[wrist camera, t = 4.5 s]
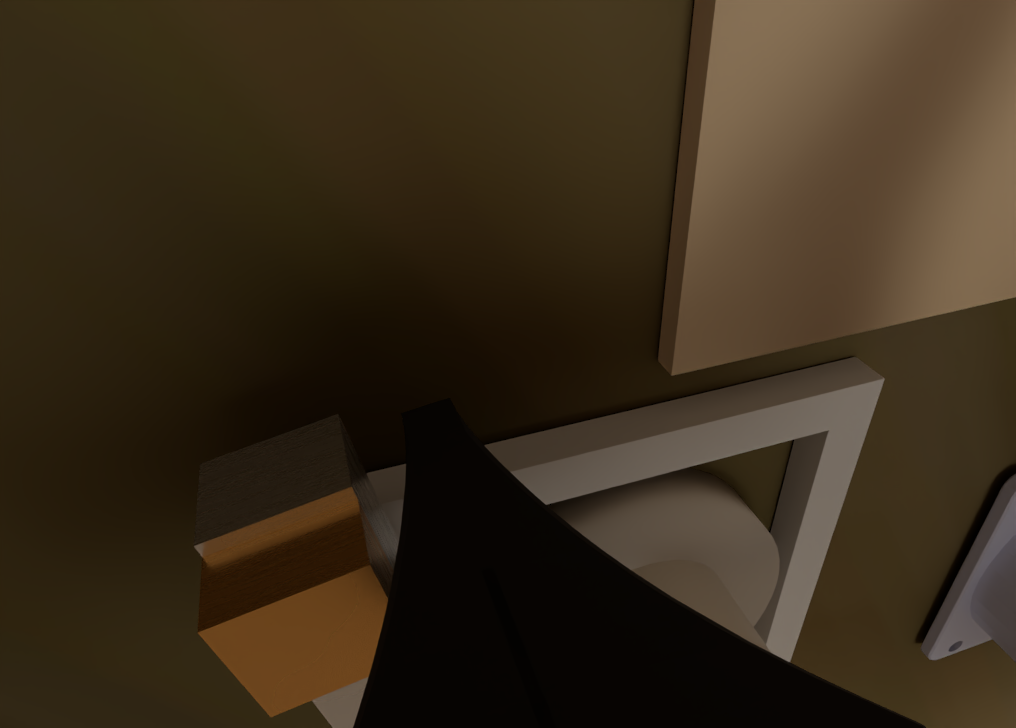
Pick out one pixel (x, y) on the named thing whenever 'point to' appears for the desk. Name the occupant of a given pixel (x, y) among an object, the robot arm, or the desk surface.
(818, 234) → the coaster
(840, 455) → the socket
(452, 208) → the desk surface
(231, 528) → the clip
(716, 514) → the plug
